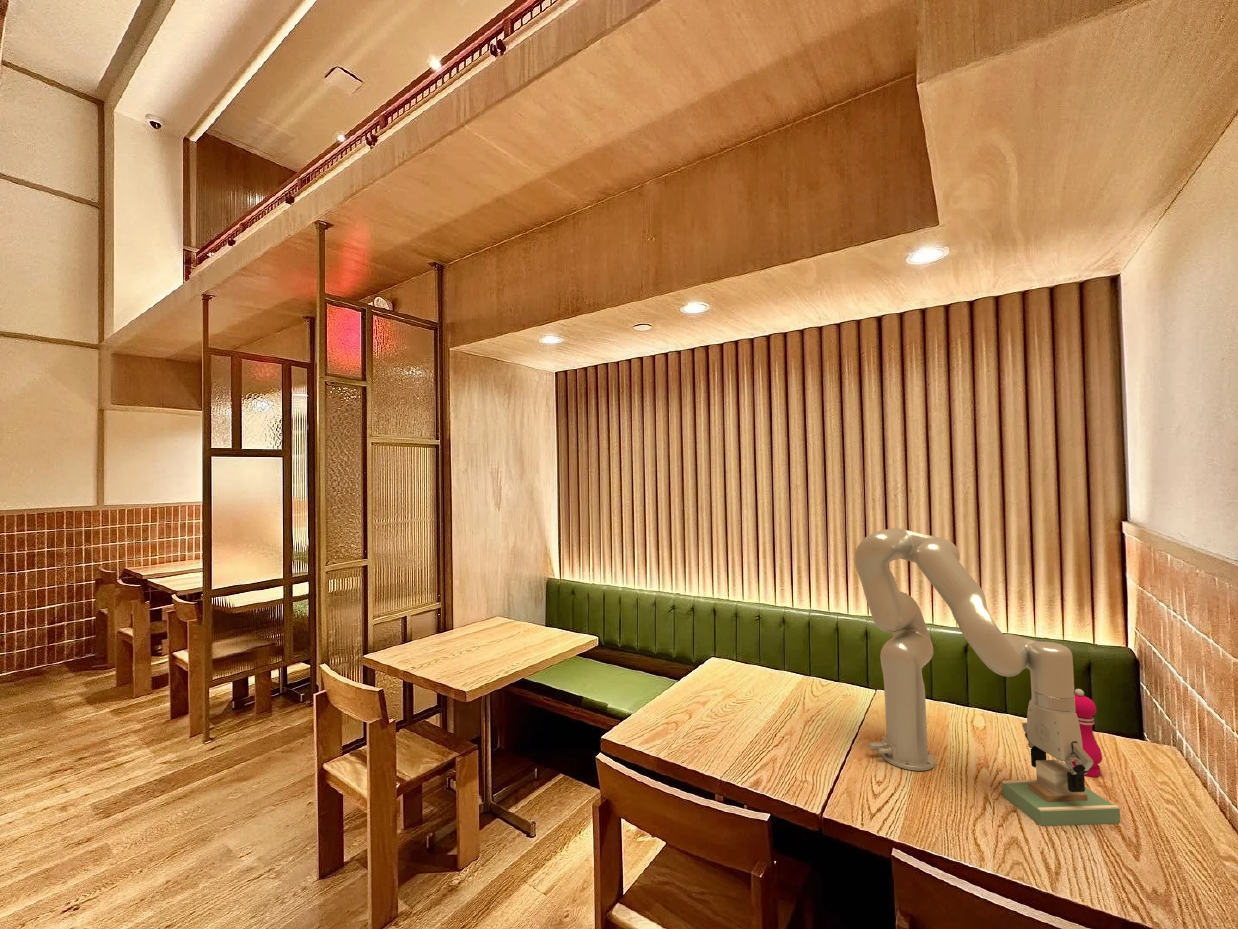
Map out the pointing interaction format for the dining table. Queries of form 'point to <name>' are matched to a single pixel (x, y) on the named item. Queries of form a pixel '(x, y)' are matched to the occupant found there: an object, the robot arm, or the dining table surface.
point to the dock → (1060, 806)
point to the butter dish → (1054, 782)
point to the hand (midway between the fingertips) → (1057, 778)
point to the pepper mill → (1087, 731)
